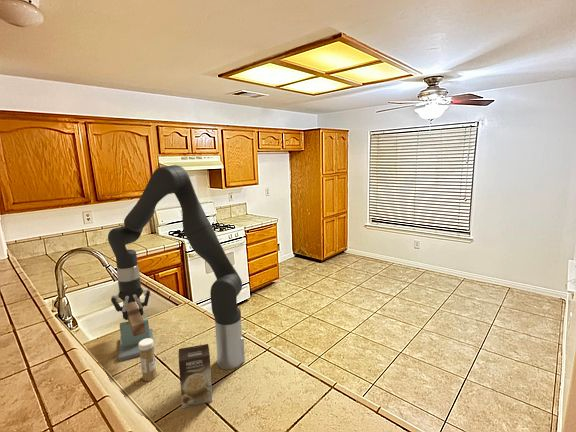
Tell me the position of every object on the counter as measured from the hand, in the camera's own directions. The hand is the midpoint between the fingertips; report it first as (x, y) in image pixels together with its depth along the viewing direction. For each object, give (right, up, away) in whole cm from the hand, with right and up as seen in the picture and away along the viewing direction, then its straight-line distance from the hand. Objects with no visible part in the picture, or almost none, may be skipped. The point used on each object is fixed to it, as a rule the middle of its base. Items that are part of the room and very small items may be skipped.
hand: (133, 317), depth 118 cm
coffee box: (+33, -17, -25) cm, 44 cm away
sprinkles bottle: (+13, -15, -15) cm, 26 cm away
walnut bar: (0, -1, 0) cm, 1 cm away
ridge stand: (0, -12, +2) cm, 12 cm away
